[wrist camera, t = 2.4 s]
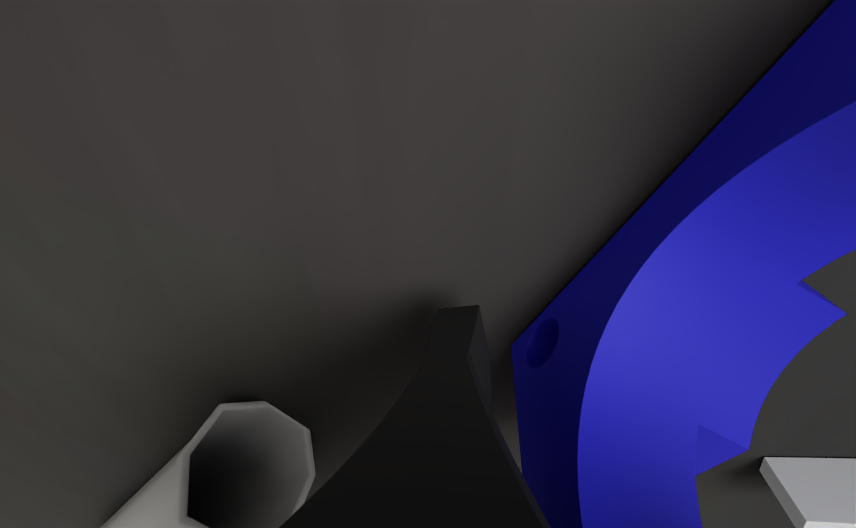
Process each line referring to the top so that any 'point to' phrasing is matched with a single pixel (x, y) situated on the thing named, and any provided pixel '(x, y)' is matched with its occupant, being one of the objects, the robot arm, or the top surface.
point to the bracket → (814, 490)
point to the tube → (229, 474)
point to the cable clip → (695, 302)
